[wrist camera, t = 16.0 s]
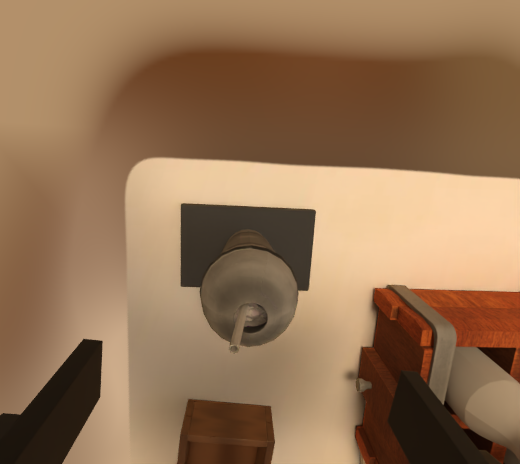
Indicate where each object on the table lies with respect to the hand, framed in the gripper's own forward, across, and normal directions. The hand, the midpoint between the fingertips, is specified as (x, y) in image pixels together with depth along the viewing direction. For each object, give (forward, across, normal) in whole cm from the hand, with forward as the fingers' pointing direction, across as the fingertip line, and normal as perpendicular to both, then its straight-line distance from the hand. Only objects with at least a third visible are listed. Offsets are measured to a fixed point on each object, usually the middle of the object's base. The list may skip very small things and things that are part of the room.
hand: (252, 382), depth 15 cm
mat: (+23, 0, 0) cm, 23 cm away
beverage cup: (+22, 0, -1) cm, 22 cm away
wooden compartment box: (+22, +1, -30) cm, 37 cm away
